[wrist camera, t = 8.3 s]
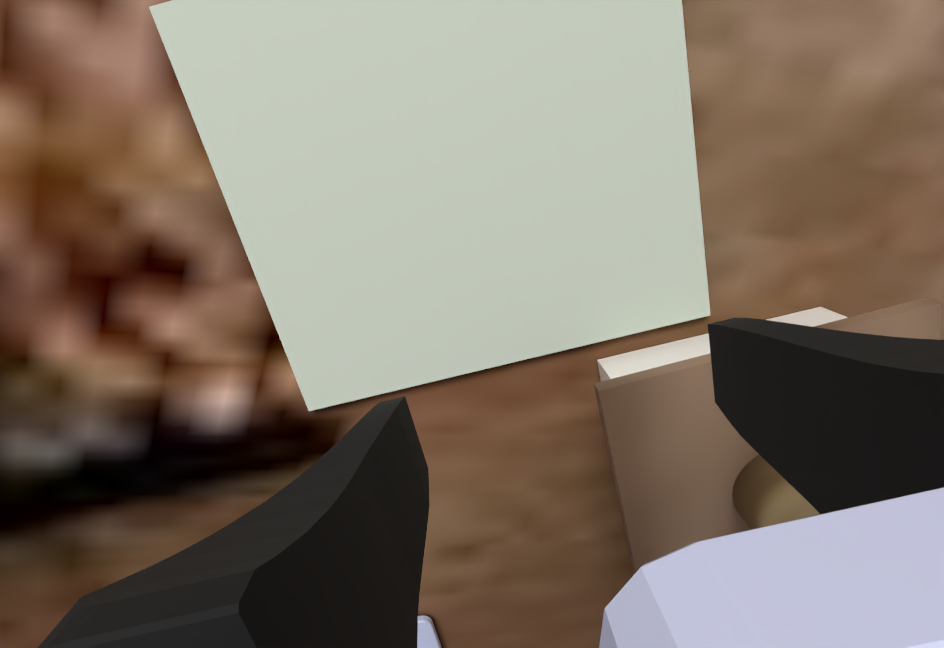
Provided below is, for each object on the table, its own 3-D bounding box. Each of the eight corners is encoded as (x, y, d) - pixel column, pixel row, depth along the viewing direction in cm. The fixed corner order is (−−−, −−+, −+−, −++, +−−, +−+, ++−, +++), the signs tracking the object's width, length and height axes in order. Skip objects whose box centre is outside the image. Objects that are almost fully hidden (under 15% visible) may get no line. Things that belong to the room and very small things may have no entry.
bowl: (627, 535, 25) (658, 601, 21) (597, 359, 22) (627, 401, 18) (823, 491, 25) (890, 551, 21) (820, 306, 22) (899, 337, 18)
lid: (643, 621, 22) (685, 722, 18) (593, 383, 18) (633, 445, 14) (918, 557, 21) (1023, 647, 17) (926, 297, 17) (1063, 337, 13)
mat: (311, 406, 22) (308, 411, 22) (155, 10, 17) (149, 7, 17) (705, 312, 21) (710, 315, 21) (664, -131, 16) (669, -138, 16)
